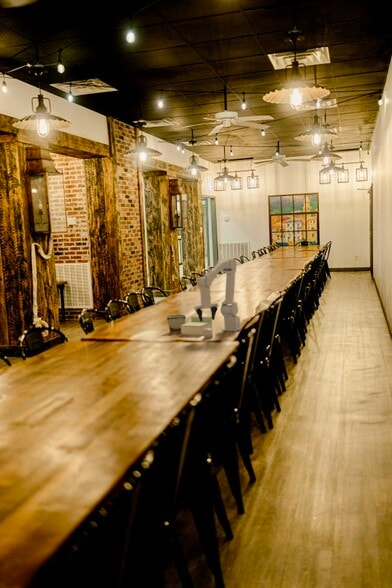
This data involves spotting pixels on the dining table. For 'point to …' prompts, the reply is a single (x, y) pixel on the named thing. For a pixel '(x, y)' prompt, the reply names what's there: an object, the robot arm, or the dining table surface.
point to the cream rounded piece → (208, 333)
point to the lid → (198, 322)
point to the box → (195, 330)
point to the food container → (176, 322)
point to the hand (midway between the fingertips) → (207, 320)
